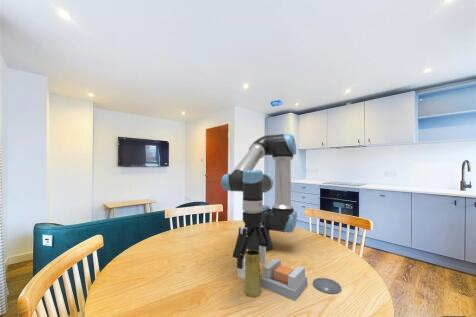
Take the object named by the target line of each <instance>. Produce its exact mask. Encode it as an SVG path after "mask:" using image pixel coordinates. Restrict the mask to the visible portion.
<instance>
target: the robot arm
mask: <svg viewBox="0 0 476 317" xmlns="http://www.w3.org/2000/svg"><path fill="white" fill-rule="evenodd" d="M296 154H297V143H296V139H295V137H294V135H293V134H291V133H282V134H281V133H280V134H279V133H278V134H270V135H268V134H267V135H264V136H261V137H259V138H258V139H256V140H255V141H254V142H253V143H252V144H250V146H249V148H248V151H247V153H246V154H245V155H244V157H243V158H242V159H241V161H239V163H238V165H236V166H235V168H234V170H233V171H232V172H231V173H225V174H223V176H222V177H221V181H220V185H221V188H222V189H223V190H224V191H226V192H227V191H229V192H242V222H243V223H244V227H239V228H238V235H237V238H236V241H235V246H234V249H233V253H232V258H234V259H236V268H237V277H238V278H241V279H242V280H245V262H246V251H248V250H257V251H259V252H260V264H261V265H266V264H267V252H269V251H271V250H272V249H273V248H274V247H273V246H274V245H273V241H272V238H271V234H270V231H274V232H280V233H288V234H290V233H291V234H292V233H293V232H294V231H295V228H296V225H297V218H298V214H297V213H298V212H297V211H296V210H295V208H294V206H293V205H292V203H291V202H292V201H291V199H292V197H291V195H292V193H291V191H292V190H291V188H292V187H291V186H292V184H291V181H292V180H291V177H292V176H291V168H292V167H291V166H292V164H291V161H292V160H293V159H294V156H295V155H296ZM265 156H272V157H271V158H272V159H273V160H274V180H273V178H272V177H271V176H270V175H268V174H263V170H261V169H255V167H256V166H257V164H259V161H260V159H262V158H264V157H265ZM273 186H274V204H273V205H272V206H271V208H270V206H269V205H264V204H263V203H264V202H263V201H264V196H263V195H264V193H265V194H266V193H268V192H269V191H271V190H272V188H273Z"/></svg>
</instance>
